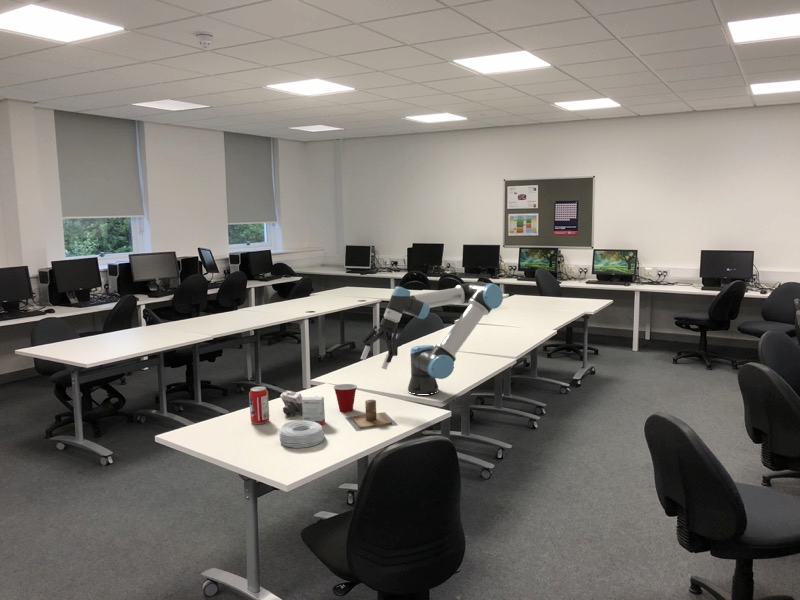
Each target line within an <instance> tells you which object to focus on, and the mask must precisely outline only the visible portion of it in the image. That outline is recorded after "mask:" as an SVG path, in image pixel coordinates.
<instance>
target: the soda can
mask: <svg viewBox="0 0 800 600" xmlns="http://www.w3.org/2000/svg"><path fill="white" fill-rule="evenodd" d="M248 398H249V400H248V401H249V412H250V413H249V414H250V422H251V423H252V424H254V425H262V424H266V423H267V422H269V420H270V406H269V405H270V404H269V391H268V390H267V387H265V386H253V387H252V388H250V391H249V393H248Z"/></svg>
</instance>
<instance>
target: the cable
mask: <svg viewBox="0 0 800 600" xmlns="http://www.w3.org/2000/svg"><path fill="white" fill-rule="evenodd" d="M278 435H279V441H280V443H281V445H283V446H285V447H287V448H288V447H289V448H292V449H300V448H302V449H303V448H309V447H313V446H317V445H319V444H321V443H322V442H323V441H324V439H325V432H324V429H323V426H321V425H320V424H318V423H316V422H312V421H306V420H303V419H302V420H292V421H288V422H285V423H284V424H282V425H281V427H280V429H279V434H278Z"/></svg>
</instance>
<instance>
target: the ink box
mask: <svg viewBox="0 0 800 600" xmlns="http://www.w3.org/2000/svg"><path fill="white" fill-rule="evenodd" d="M303 397H304V398H303V400H302V410H303V414H302V420H306V421H312V422H316V423H318V424H320V425H321V426H322V427H324V426H325V424H326V416H325V415H326V413H325V398H324V396H303Z"/></svg>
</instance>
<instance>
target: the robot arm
mask: <svg viewBox="0 0 800 600" xmlns="http://www.w3.org/2000/svg"><path fill="white" fill-rule="evenodd" d="M503 300H504V294H503V290H502V289H501V287H500V286H499V285H498V284H495V283H492V282H488V283H487V282H482V281H472V282H467V283H462V284H457V285H456V286H455V287H453V288H446V289H440V290H435V291H429V292H424V293H418V294H411V291H410V290H409V289H407V288H404V287H402V286H399V285H398V286H395V288H394V289H393V291H392V293H391V296H390V299H389V302H388V304H387V306H386V308H385V311H384V314H383V317H382V319H381V322H380V324H379V325H380V326H377V325H374V326H373V328H372V330H371V331H370V332H369V333H368V334H367V335H366V336H365V337H364V338H363V339H362V343H363V344H364V346H363V349H362V354H361V356H360V359H361V360H363V361H366V359H367V357H368V354H369V351H370V350H371V345H373V344H374V343H375V342H376V341H379V340H380V339H381V340H384V341H385V342H386V347H387V352H388V353H387V354H386V355H385V357H384V361H383V363H382V365H381V369H384V370H388V367H389V364H390V363H392V359H393V357H397V356H398V354H399V353H398V351H399V348H398V344H399V343H398V342H399V336H400V334H398V333H396V332H395V331H396V330H397V328H398V323H400V320H401V318H402V315H403V314H405V315H410V316H413V317H416V318H418V319H422V320H424V319H425V318H427V316H428V315H429V313H430V311H431V308H435V307H442V306H447V305H452V304H459V305H464V304H467V305H468V306H467V307H466V308H465V310H464V311H463V313H462V314H461V315H460V317H459V318H458V320H457V321H456V322H455V323H454V325H453V326H452V328H451V329H450V330H449V332H448V334H447V335H446V336H445V337H444V339H443V340H442V342H441V343H440V344H439V343H438V344H435V346H434V345H433V344H432V345H431V344H430V345H429V344H426V345H425V344H424V345H416V346H412V347H411V348H410V378H409V379H410V380H409V383H408V386H407V392H408V391H409V392H411V393H415V394H431V393H435V392H437V391H438V392H439V385H438V382H437V379H439V380H442V379H447V378H448V377H449V376H451V375H452V373H453V372H454V369H455V366H454V365H455V361H456V360H457V356H456V355H457V353H458V352H459V350H461V348H462V346H463V345H464V343H465V342H466V340H467V339H468V338H469V336H470V335H471V333H472V332H473V331H474V329H476V326H477V325H478V324H479V323H480V321H481V320H482V319H483V317H484V316H489V314H490V312H492V310H495V309H497V308H499V307H500V306H501V305H502V303H503ZM409 392H408V393H409Z"/></svg>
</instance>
